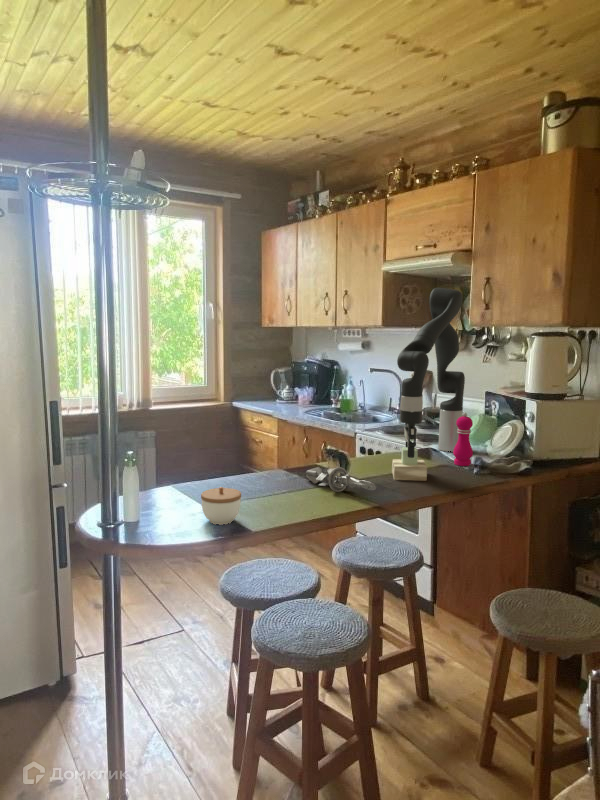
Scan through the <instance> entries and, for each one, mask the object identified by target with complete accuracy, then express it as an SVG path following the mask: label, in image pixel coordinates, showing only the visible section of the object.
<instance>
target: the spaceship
mask: <svg viewBox="0 0 600 800" xmlns="http://www.w3.org/2000/svg"><path fill="white" fill-rule="evenodd" d="M305 474H306V476H305V477H306V478H308V480H309V481H311V482H312V484H314V485H315V484H318V483H319V482H320V481H324V482H321V483H319V484H318V486H323V487H325V486H328V487H330V489H331V490H332V491H333V492H336V493H340V492H342V491H344V490H345V489H346V488H347V486H348V487H349V488H350V489H354V487H359V488H363V489H364V490H369V491H374V490H375V491H376V490H377V489H378V487H377V484H375V483H373V482H371V481H370V480H363V479H360V480H359V479H357V478H354V477H352V476H350V475H349V474H348V471H347V470H346V469H345V468H344V467H341V466H338V467H334V468H328V469H327V468H324V467H321V468H320V466H317V467H314V468H310V469H308V470H306V471H305ZM338 474H339V475H338Z"/></svg>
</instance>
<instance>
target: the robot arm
mask: <svg viewBox="0 0 600 800" xmlns="http://www.w3.org/2000/svg"><path fill="white" fill-rule="evenodd" d="M428 301H429V310H430V315H431V320H429V321H427V322H426V323H425V324H424V325H422V326H421V328H420V329H419V330H418V332H417V333H416V335H415V337H414V339H413V340H412V341H411V342H409V343H408V344H407V345H406V346H405V347H404V348H403V349H402V350H401V351H400V353H399V354H398V356H397V363H396V364H397V367H398V368H399V370H400V371H403V372H413V375H412V377H410V378H404V379H403V380H401V398H400V406H399V407H400V408H399V409H400V410H399V411H400V412H399V421H400V423H402V424H404V425H405V426H404V428H403V429H404V430H403V431H404V434H403V435H404V441H405V447H408V458H414V450H415V448H416V446H417V432H418V429H417V427H416V424H421V423H422V422H423V384H424V381H425V377H426V373H427V370H428V368H429V365H430V364H429V362H430V359H429V356H428V354H429V353H430V352H431V351H432V349H433V347H434V348H435V349H434V351H435V357H436V358H435V359H436V371H437V373H436V377H437V379H436V381H437V383H436V384H437V389H438V391H439V392H440V393H442V394H454V395H455V396H453V397H452V398H450V399H448V400H444V401H442V402H440V403H439V404H440V405H439V420H438V421H439V422H438V423H439V426H438V427H439V428H438V447H437V449H438V450H439V451H442V452H448V451H449V452H448V453H453V451H454V447H455V446H456V444H457V441H458V433H457V431H458V430H457V429H458V427H457V425H456V421H457V419H458V418H459V417H462V416H463V415H462V414H463V413H464V412H463V411H464V410H463V407H464V406H463V405H464V393H465V385H466V384H465V383H466V382H465V381H466V378H465V373H464V372H463V371H453V370H447V369H448V367H449V366H450V364H451V363H452V362H453V361H454V360H455V358H456V357H457V356H458V354H459V353H460V339H459V335H458V333H457V330H456V329H455V328H454V327H453V325H452V324H451V322H452V321H453V320H454V319H455V317H456V316H457V315H458V314H459V312H460V310H461V308H462V304H463V294H462V292H461V291H460V290H457V289H452V288H445V287H435V288H433V289H432V291H431V292H430V294H429V300H428ZM450 451H451V452H450Z"/></svg>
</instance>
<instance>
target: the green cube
mask: <svg viewBox="0 0 600 800" xmlns="http://www.w3.org/2000/svg"><path fill="white" fill-rule="evenodd" d="M418 453H419V450H418V448H417V447H415V450H414V458H408V447H406V446H405V447H404V446H402V447H401V458H400V459H401V461H402V464H405V465H417V460H418Z"/></svg>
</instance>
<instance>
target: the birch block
mask: <svg viewBox="0 0 600 800" xmlns="http://www.w3.org/2000/svg"><path fill="white" fill-rule="evenodd" d="M391 473H392V477H393V480H394V481H396V480H397V481H421V482H423V481H424V482H425V481H427V477H428V466H427V464H426V463H425V460H424V459H417V465H405V464H402V461H401V458H392V464H391Z"/></svg>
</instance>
